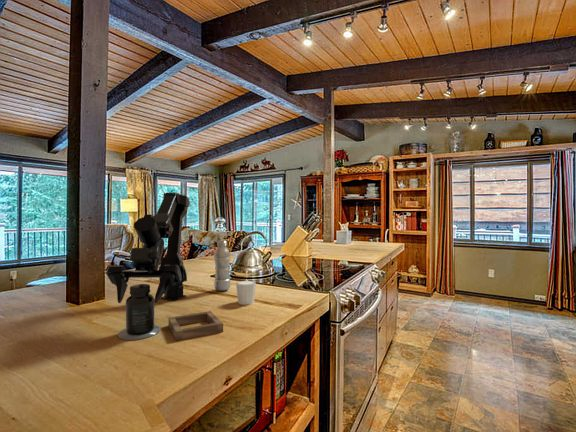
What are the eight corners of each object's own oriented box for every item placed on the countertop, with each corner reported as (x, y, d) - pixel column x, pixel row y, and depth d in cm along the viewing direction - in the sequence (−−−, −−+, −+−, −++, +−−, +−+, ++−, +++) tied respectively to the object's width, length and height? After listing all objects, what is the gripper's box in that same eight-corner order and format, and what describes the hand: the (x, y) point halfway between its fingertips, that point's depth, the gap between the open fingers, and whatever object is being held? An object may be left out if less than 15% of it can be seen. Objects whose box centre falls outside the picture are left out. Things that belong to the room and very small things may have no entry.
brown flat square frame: (168, 325, 89) (168, 317, 89) (210, 318, 95) (210, 311, 95) (176, 340, 78) (176, 332, 78) (223, 331, 84) (223, 323, 84)
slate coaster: (109, 335, 82) (109, 334, 82) (143, 323, 90) (143, 322, 90) (135, 343, 77) (135, 341, 77) (167, 329, 86) (167, 328, 86)
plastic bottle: (233, 289, 129) (233, 240, 129) (222, 293, 123) (222, 242, 123) (222, 287, 132) (222, 240, 132) (210, 291, 127) (210, 241, 126)
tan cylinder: (252, 305, 107) (252, 285, 107) (233, 304, 109) (233, 284, 109) (258, 300, 114) (258, 280, 114) (240, 299, 116) (240, 280, 115)
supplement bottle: (129, 327, 86) (129, 283, 86) (156, 325, 88) (156, 282, 88) (122, 337, 80) (122, 289, 80) (151, 334, 81) (151, 288, 81)
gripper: (108, 236, 86) (87, 286, 76) (178, 236, 88) (167, 284, 77) (121, 260, 94) (103, 308, 84) (185, 259, 96) (176, 306, 85)
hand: (137, 302), depth 82 cm, fingers open, 9 cm apart
